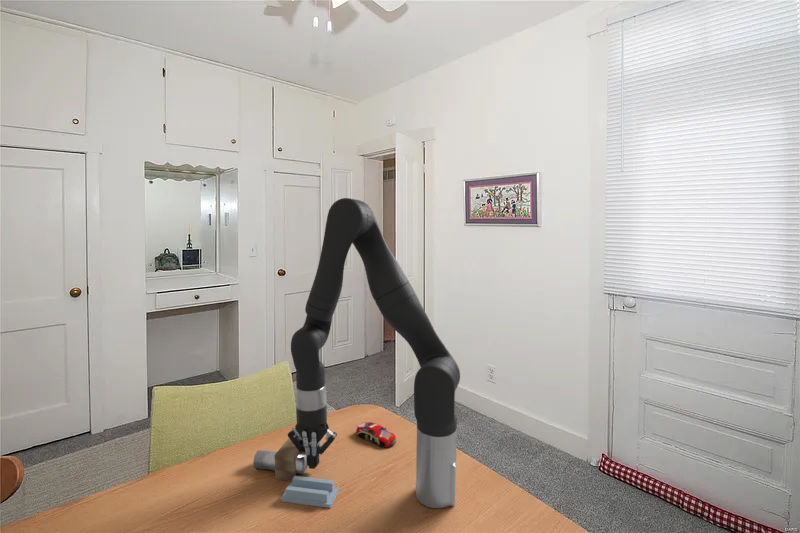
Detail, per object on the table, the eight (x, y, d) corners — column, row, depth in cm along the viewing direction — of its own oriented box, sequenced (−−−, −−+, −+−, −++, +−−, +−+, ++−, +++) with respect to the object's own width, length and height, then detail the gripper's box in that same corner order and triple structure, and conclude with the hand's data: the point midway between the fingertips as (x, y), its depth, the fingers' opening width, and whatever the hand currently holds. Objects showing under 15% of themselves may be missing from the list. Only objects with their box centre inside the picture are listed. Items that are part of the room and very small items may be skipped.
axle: (308, 466, 108) (307, 451, 107) (301, 477, 104) (300, 462, 103) (262, 461, 110) (261, 446, 110) (253, 471, 106) (252, 456, 105)
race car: (399, 443, 120) (399, 430, 120) (388, 451, 116) (388, 438, 115) (365, 428, 128) (365, 416, 127) (353, 435, 124) (353, 423, 123)
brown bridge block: (307, 461, 110) (306, 439, 109) (294, 481, 102) (293, 457, 101) (289, 459, 111) (289, 437, 110) (275, 479, 103) (274, 455, 102)
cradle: (338, 490, 99) (338, 479, 98) (330, 507, 93) (330, 496, 93) (291, 484, 101) (291, 474, 100) (280, 501, 95) (280, 490, 95)
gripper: (341, 398, 106) (342, 461, 108) (293, 394, 108) (295, 455, 110) (331, 412, 98) (332, 479, 101) (279, 407, 101) (282, 473, 103)
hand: (313, 466), depth 105 cm, fingers closed
